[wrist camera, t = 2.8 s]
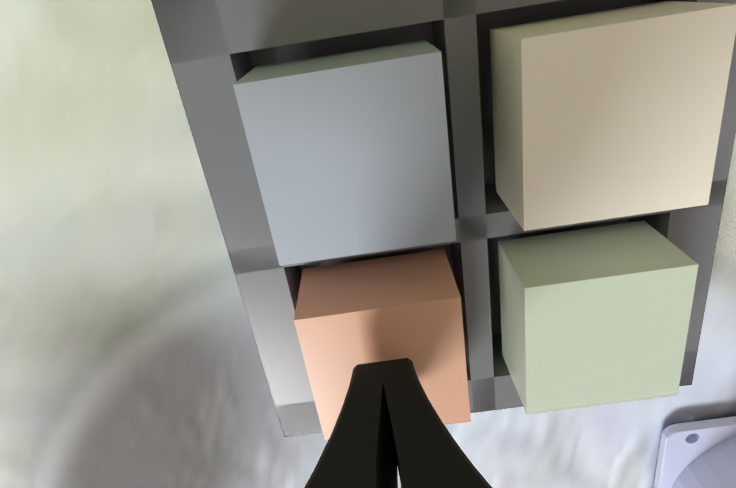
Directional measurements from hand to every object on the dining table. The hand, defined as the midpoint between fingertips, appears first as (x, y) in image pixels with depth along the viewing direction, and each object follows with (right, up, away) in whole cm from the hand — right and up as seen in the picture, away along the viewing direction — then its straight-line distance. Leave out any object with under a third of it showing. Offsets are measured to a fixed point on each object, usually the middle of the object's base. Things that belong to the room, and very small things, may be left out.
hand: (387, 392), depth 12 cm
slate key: (-1, +6, 0) cm, 6 cm away
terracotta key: (0, +1, +3) cm, 3 cm away
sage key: (+5, +2, +3) cm, 6 cm away
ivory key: (+5, +7, 0) cm, 8 cm away
